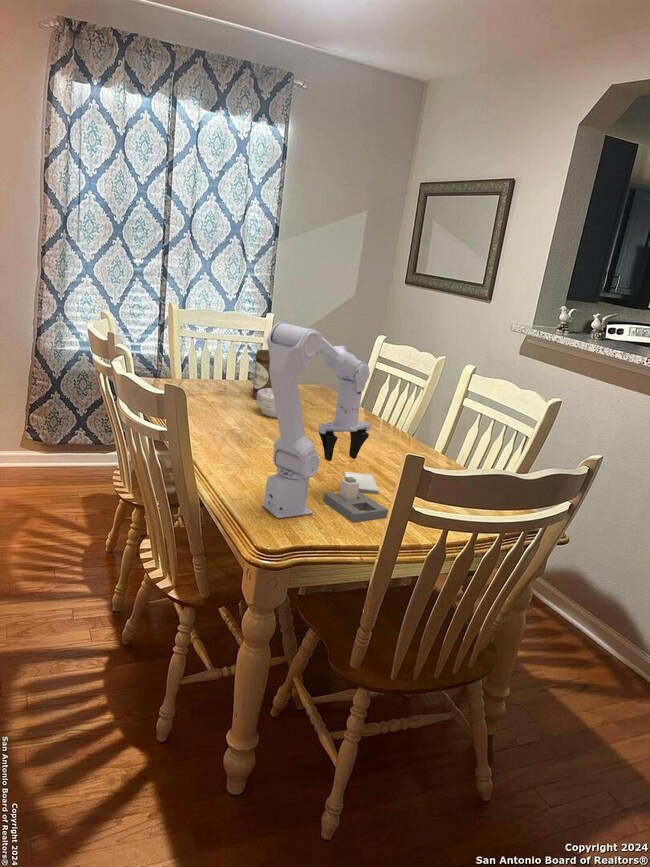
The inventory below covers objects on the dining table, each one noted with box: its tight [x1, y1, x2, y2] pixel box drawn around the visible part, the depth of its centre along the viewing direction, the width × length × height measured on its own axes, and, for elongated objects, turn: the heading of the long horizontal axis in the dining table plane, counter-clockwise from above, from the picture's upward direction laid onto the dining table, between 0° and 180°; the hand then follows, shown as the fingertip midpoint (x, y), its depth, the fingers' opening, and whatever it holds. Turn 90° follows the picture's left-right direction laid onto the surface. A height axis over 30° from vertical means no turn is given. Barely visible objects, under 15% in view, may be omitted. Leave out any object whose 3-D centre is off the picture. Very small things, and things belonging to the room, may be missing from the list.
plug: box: [338, 477, 359, 500], centre depth 162 cm, size 3×3×7 cm
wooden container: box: [251, 349, 272, 401], centre depth 254 cm, size 15×15×22 cm
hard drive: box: [343, 471, 380, 495], centre depth 177 cm, size 2×8×12 cm
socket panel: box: [322, 491, 389, 523], centre depth 160 cm, size 10×13×2 cm
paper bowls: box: [255, 388, 301, 419], centre depth 234 cm, size 15×15×8 cm
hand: (340, 458), depth 166 cm, fingers open, 7 cm apart
